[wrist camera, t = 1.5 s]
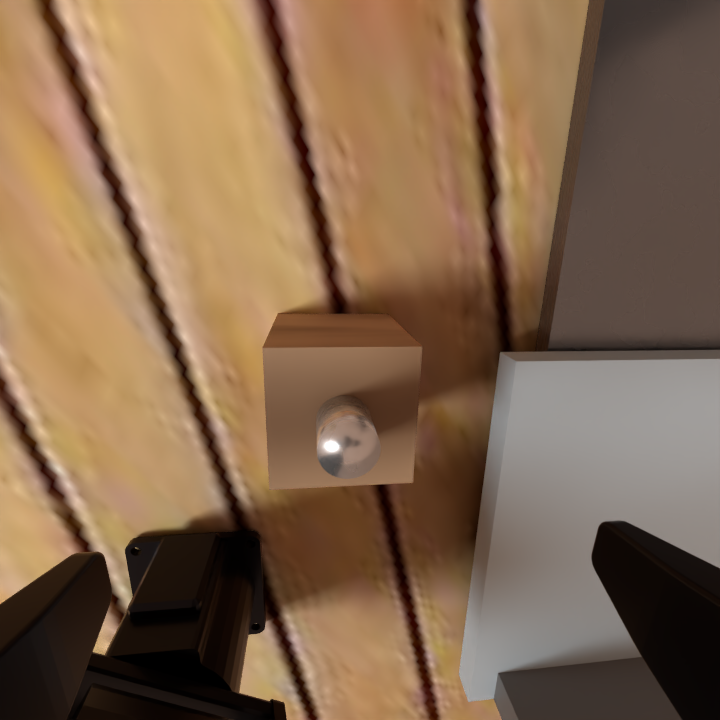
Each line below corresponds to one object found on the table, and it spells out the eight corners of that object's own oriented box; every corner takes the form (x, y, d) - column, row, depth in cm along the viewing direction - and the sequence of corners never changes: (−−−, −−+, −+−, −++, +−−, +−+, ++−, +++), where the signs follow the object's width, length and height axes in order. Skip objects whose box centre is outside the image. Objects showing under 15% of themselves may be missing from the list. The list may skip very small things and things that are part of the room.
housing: (383, 413, 20) (428, 520, 12) (281, 416, 19) (262, 530, 12) (387, 313, 18) (442, 365, 11) (277, 313, 18) (253, 367, 10)
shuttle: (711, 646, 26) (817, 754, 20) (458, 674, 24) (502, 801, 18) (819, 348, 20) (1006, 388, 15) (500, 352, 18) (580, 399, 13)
